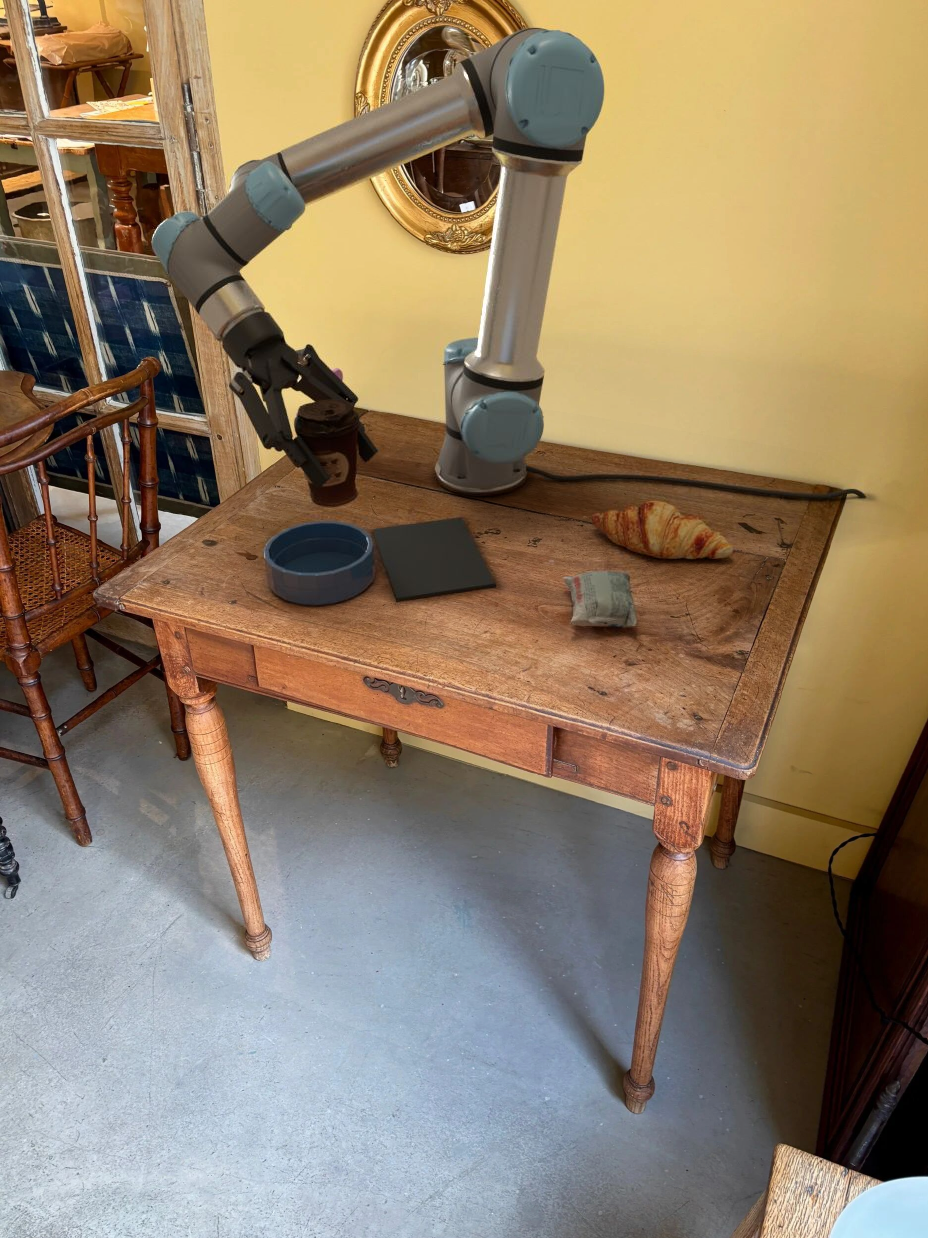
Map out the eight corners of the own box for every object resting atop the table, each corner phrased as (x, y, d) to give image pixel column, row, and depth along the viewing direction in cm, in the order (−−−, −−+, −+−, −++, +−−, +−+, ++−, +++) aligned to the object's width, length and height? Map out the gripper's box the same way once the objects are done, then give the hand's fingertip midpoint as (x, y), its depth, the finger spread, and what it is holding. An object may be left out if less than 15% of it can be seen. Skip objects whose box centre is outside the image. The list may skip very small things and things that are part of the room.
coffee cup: (355, 517, 122) (345, 424, 115) (294, 511, 124) (281, 420, 116) (373, 485, 129) (365, 396, 121) (316, 480, 131) (304, 392, 123)
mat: (461, 520, 146) (461, 516, 145) (496, 586, 130) (496, 583, 129) (372, 532, 143) (372, 528, 143) (396, 601, 127) (396, 598, 127)
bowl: (366, 544, 140) (363, 515, 137) (383, 597, 128) (381, 566, 125) (265, 558, 137) (260, 528, 134) (273, 614, 125) (268, 582, 122)
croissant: (731, 571, 138) (744, 518, 137) (723, 573, 129) (738, 516, 127) (594, 541, 145) (605, 490, 144) (577, 541, 136) (589, 486, 135)
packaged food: (568, 639, 119) (570, 607, 116) (562, 589, 129) (564, 558, 126) (637, 640, 119) (641, 608, 116) (626, 590, 128) (629, 559, 126)
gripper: (290, 322, 130) (386, 454, 132) (168, 367, 116) (277, 515, 118) (313, 289, 125) (414, 427, 126) (188, 332, 111) (303, 487, 112)
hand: (348, 469), depth 122 cm, fingers closed on coffee cup, 9 cm apart
